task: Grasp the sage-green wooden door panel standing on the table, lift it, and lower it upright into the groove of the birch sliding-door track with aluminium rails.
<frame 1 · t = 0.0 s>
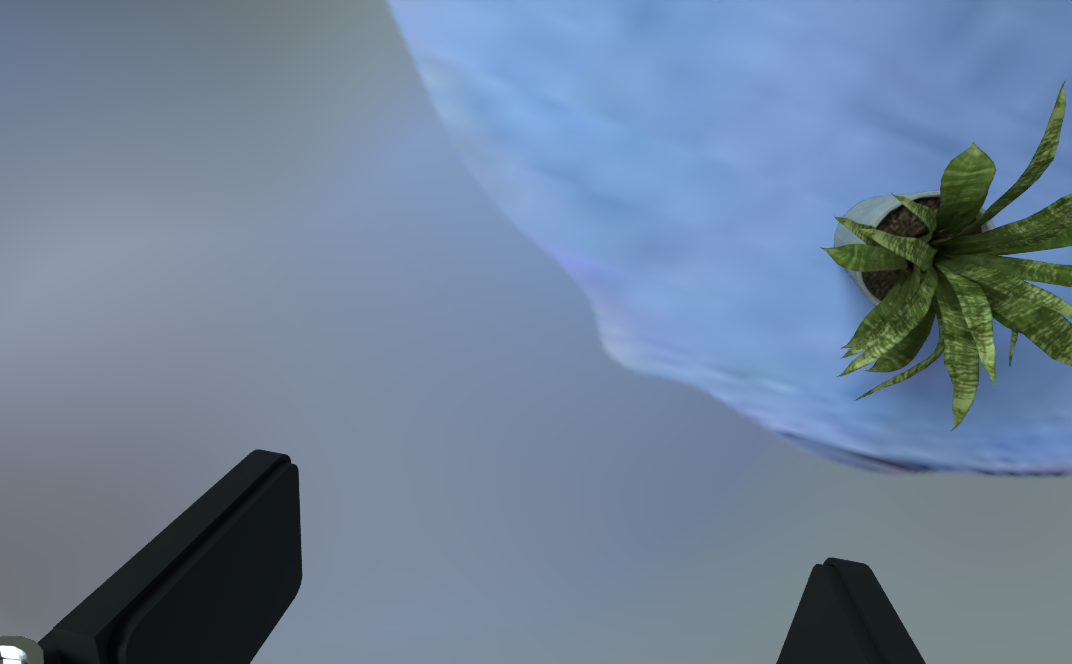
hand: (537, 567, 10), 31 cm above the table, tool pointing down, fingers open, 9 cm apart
house plant: (864, 219, 36), on the table
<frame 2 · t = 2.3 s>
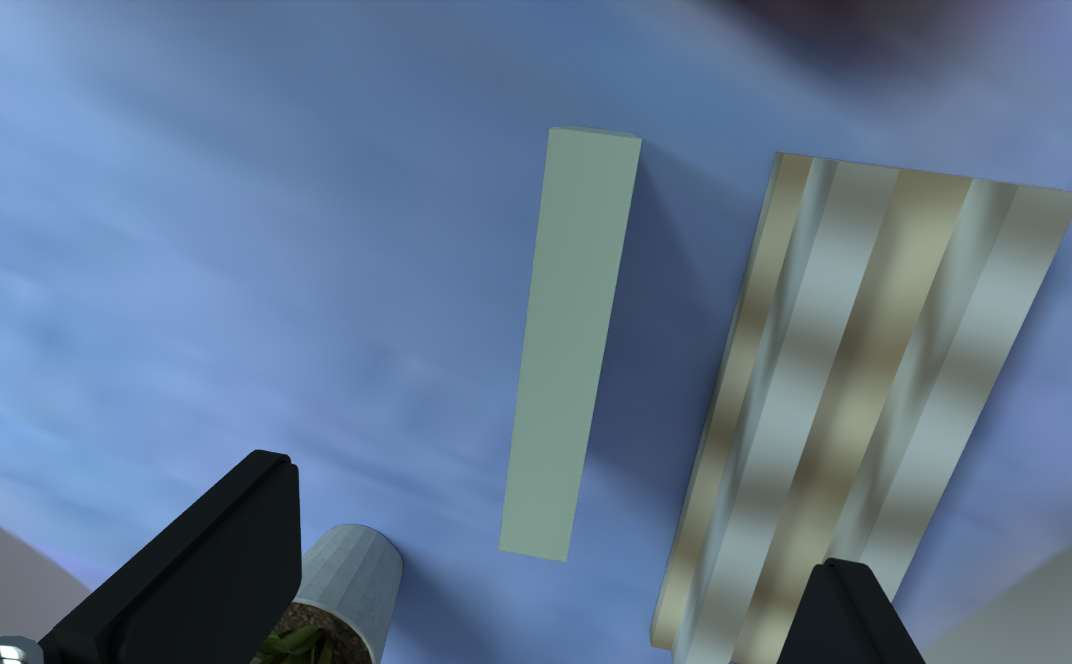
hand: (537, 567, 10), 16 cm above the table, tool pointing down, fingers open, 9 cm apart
door panel: (576, 292, 25), on the table
door track: (808, 451, 26), on the table
house plant: (345, 542, 32), on the table
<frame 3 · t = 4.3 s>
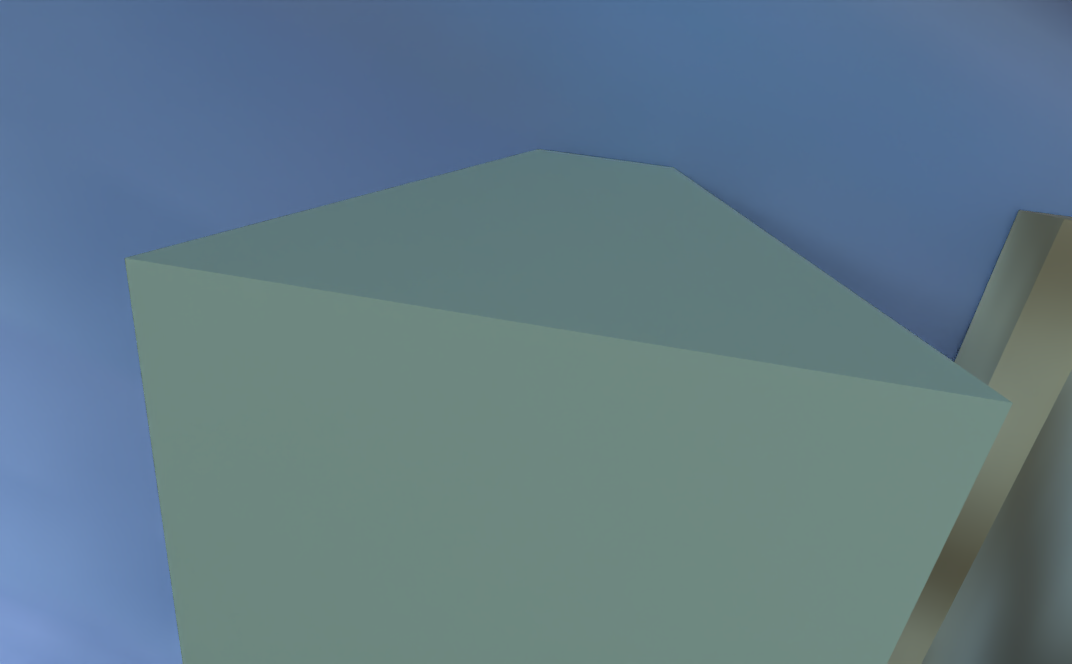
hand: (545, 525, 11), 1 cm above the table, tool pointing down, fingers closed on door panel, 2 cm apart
door panel: (552, 486, 12), on the table, touching gripper
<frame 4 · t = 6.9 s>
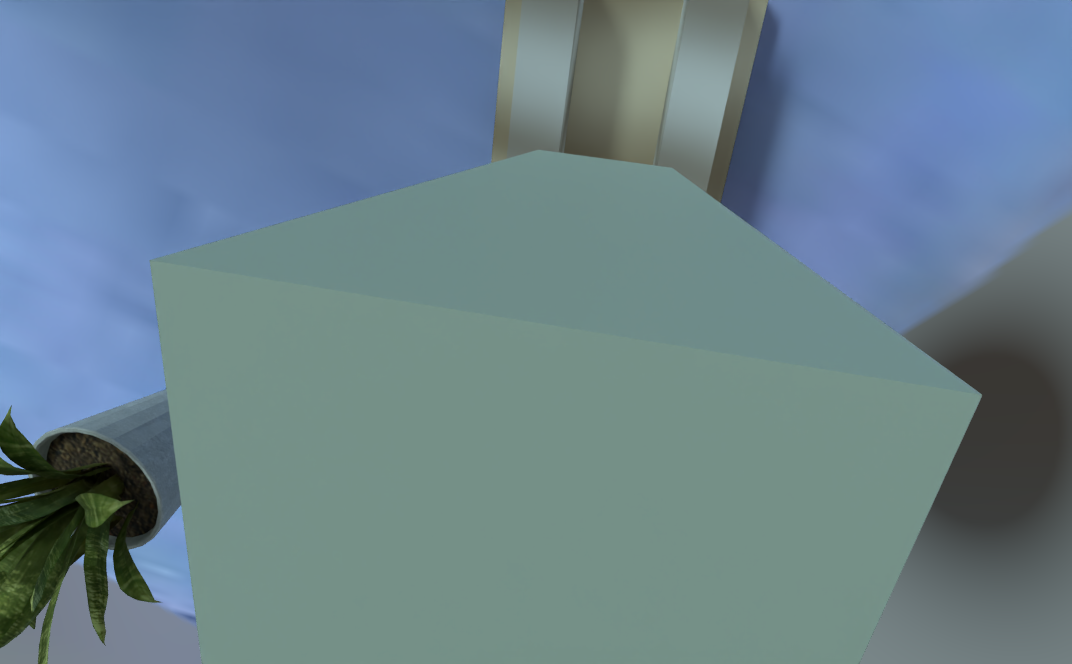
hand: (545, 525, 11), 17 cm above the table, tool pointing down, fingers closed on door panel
door panel: (552, 484, 12), point 16 cm above the table, touching gripper
door track: (586, 292, 27), on the table
house plant: (170, 409, 33), on the table
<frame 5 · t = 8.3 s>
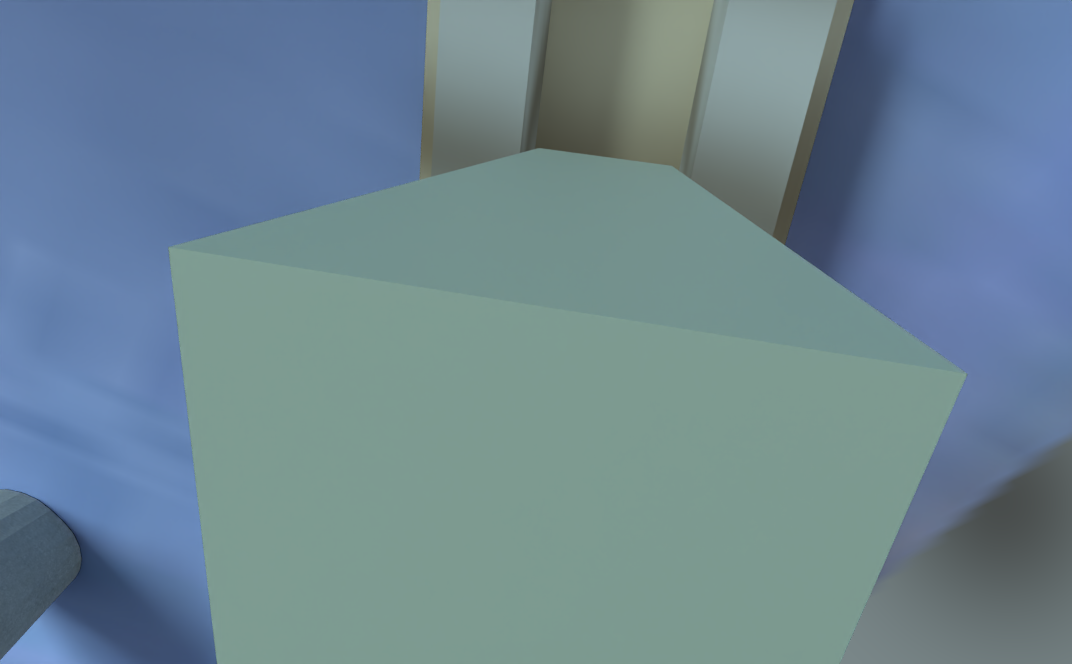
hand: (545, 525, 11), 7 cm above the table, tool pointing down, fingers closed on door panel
door panel: (553, 480, 13), point 6 cm above the table, touching gripper
door track: (572, 374, 18), on the table
house plant: (4, 514, 24), on the table
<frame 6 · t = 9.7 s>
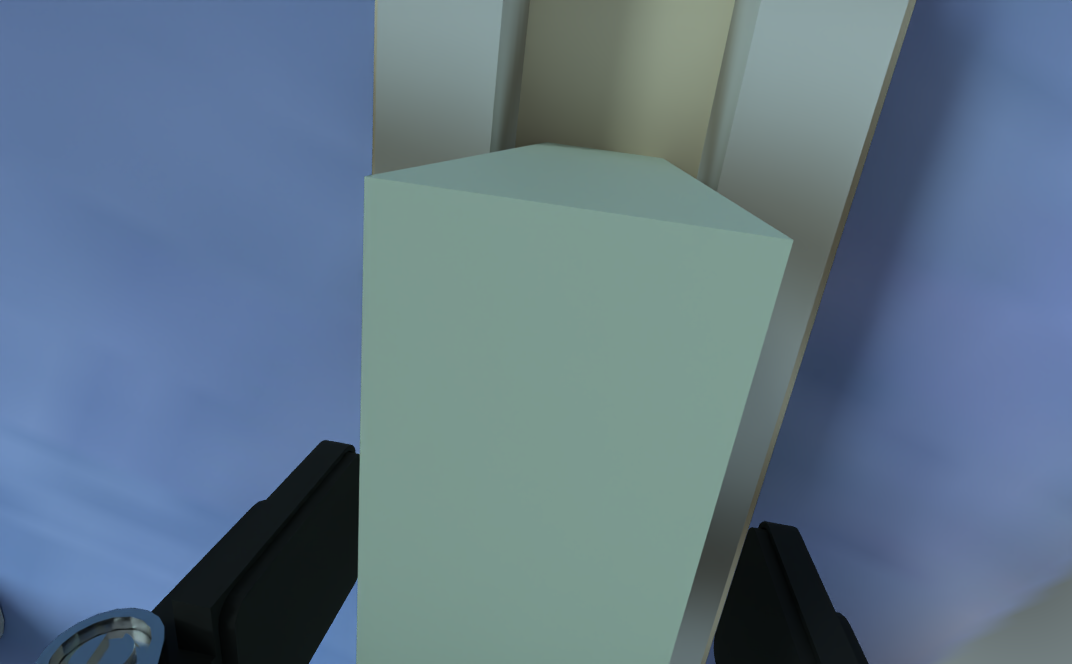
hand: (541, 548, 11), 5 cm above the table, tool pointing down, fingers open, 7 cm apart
door panel: (557, 442, 14), point 1 cm above the table, touching door track
door track: (563, 425, 15), on the table
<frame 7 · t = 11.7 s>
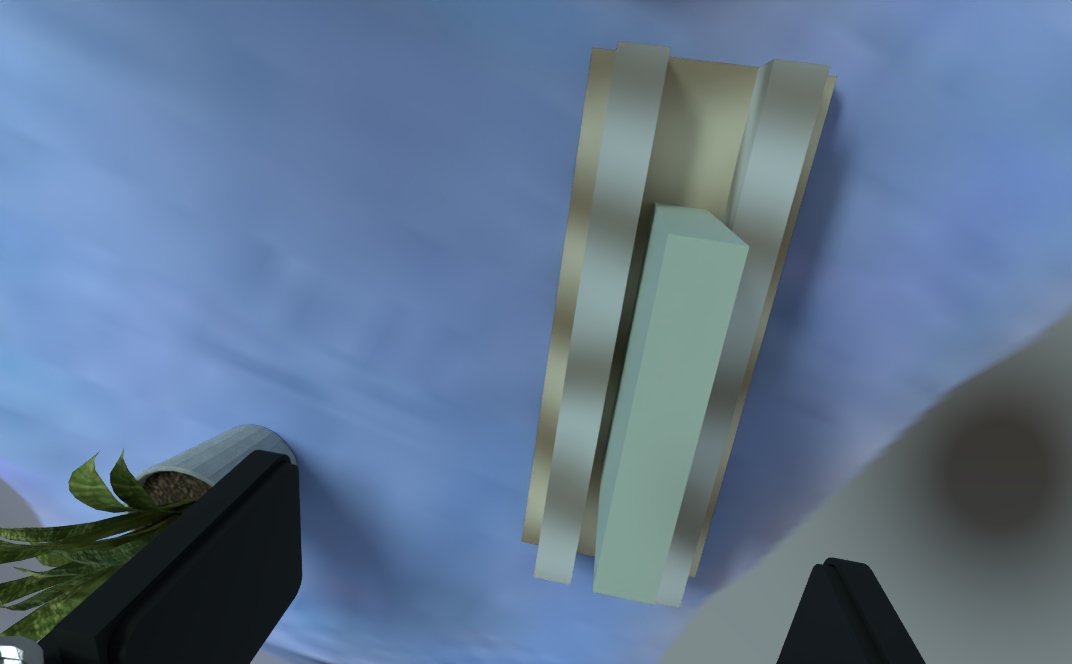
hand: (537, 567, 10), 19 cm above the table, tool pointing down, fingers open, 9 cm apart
door panel: (649, 349, 28), point 1 cm above the table, touching door track
door track: (650, 343, 29), on the table
house plant: (245, 443, 35), on the table
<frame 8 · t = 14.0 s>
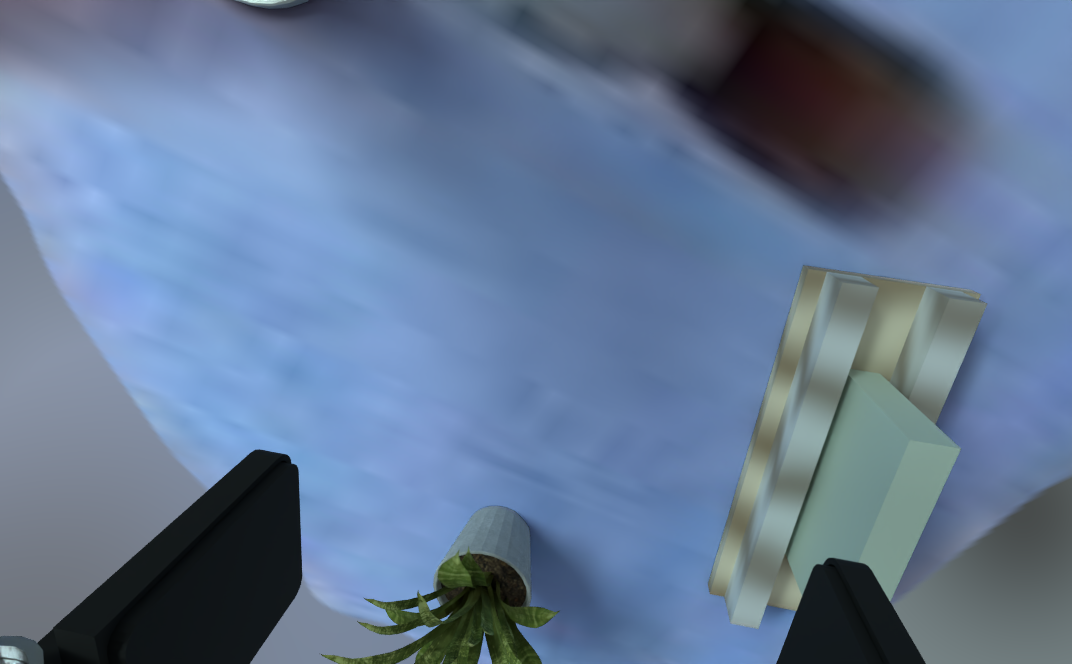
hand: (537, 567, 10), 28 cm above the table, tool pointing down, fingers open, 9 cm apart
door panel: (826, 462, 38), point 1 cm above the table, touching door track
door track: (822, 455, 39), on the table
house plant: (488, 519, 45), on the table
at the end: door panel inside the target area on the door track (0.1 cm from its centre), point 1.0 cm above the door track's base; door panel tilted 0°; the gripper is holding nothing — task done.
